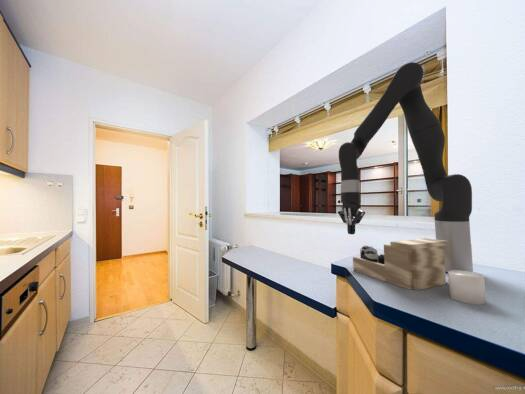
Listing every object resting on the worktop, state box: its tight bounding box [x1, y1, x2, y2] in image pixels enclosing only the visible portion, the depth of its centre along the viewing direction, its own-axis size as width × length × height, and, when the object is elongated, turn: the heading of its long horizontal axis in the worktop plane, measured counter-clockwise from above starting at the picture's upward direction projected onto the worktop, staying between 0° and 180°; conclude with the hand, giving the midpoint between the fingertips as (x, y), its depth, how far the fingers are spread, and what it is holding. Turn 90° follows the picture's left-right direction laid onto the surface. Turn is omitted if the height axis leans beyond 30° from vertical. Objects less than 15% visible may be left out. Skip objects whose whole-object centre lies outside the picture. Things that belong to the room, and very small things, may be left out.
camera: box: [359, 245, 385, 265], centre depth 79 cm, size 13×8×9 cm, turn 173°
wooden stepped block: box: [352, 237, 448, 291], centre depth 71 cm, size 16×22×12 cm
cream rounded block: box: [447, 270, 487, 306], centre depth 53 cm, size 6×6×6 cm
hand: (351, 234), depth 89 cm, fingers closed
